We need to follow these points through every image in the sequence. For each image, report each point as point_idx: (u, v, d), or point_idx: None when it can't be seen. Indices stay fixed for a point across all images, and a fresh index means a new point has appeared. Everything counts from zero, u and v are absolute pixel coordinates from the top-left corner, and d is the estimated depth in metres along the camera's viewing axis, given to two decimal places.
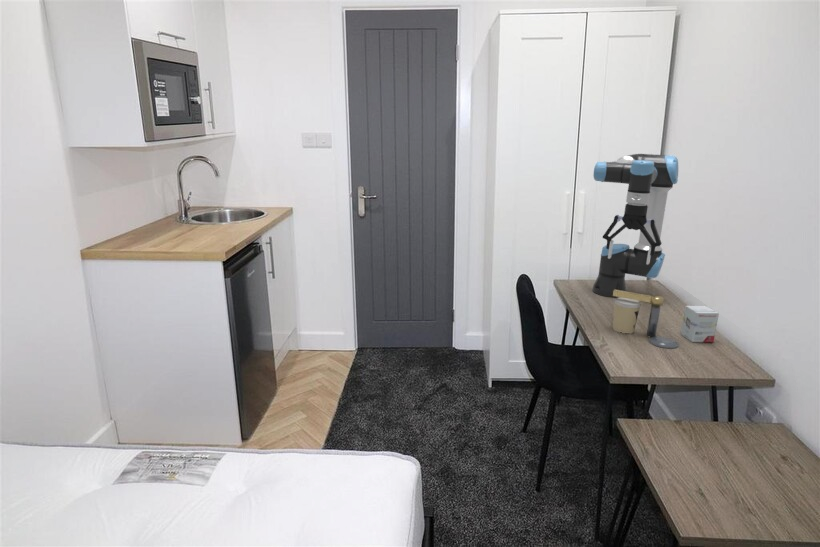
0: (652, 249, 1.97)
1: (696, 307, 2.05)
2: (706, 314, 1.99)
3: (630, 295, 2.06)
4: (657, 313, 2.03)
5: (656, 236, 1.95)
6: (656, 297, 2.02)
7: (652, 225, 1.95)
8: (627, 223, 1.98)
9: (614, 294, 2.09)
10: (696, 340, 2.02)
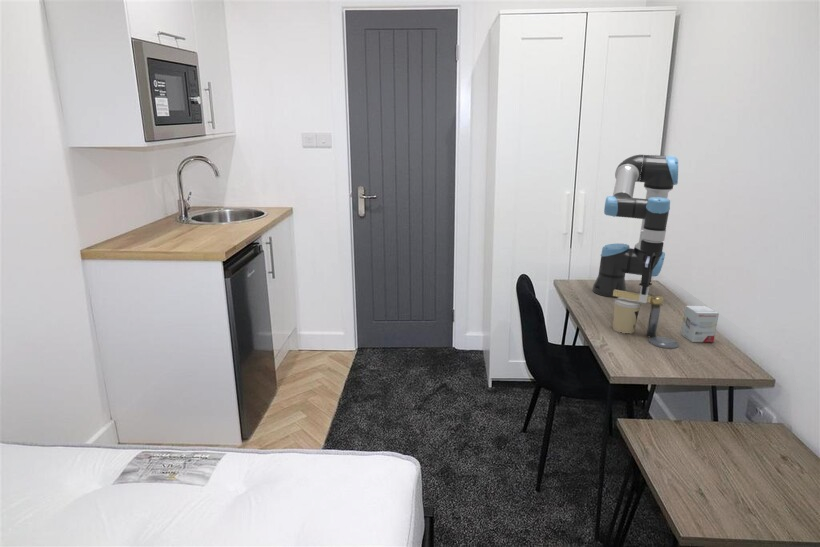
0: (642, 288, 2.02)
1: (696, 307, 2.05)
2: (706, 314, 1.99)
3: (630, 295, 2.06)
4: (657, 313, 2.03)
5: None
6: (656, 297, 2.02)
7: (643, 266, 1.96)
8: None
9: (614, 294, 2.09)
10: (696, 340, 2.02)
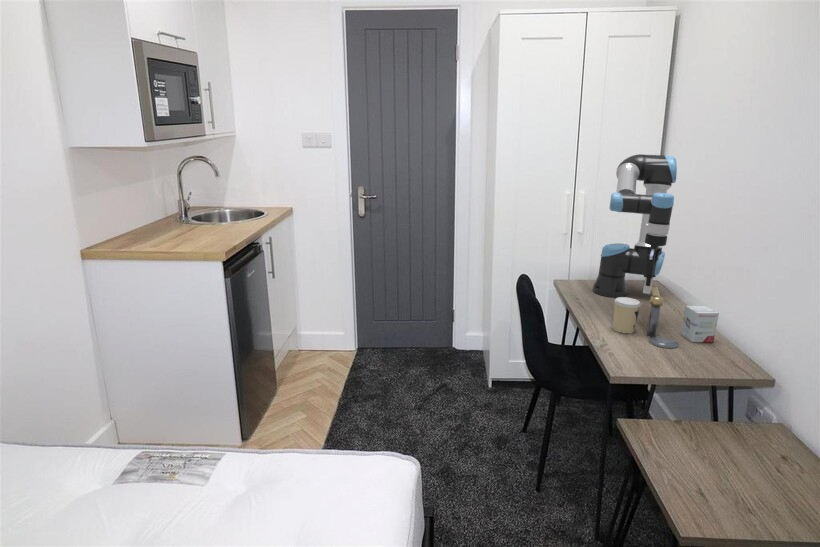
0: (646, 279, 2.12)
1: (696, 307, 2.05)
2: (706, 314, 1.99)
3: (651, 292, 2.12)
4: (657, 313, 2.03)
5: (646, 268, 2.08)
6: (655, 296, 2.03)
7: None
8: None
9: None
10: (696, 340, 2.02)
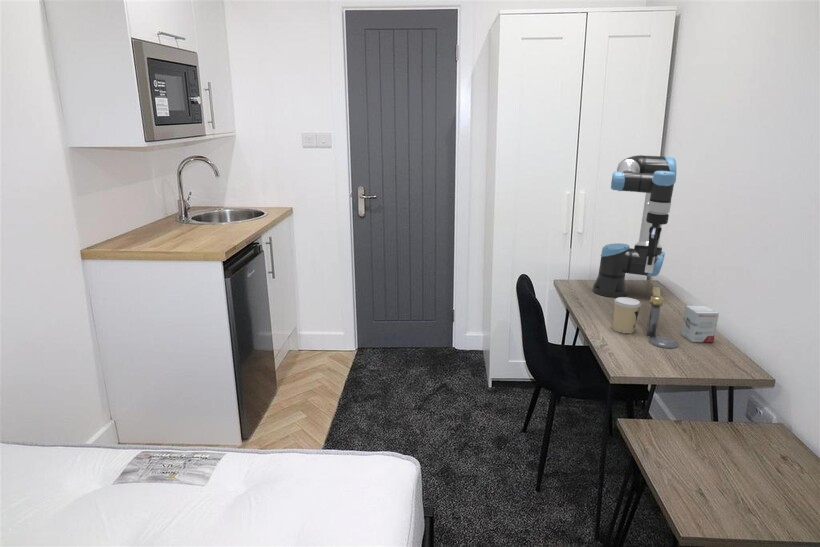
0: (648, 258, 2.10)
1: (696, 307, 2.05)
2: (706, 314, 1.99)
3: (653, 292, 2.11)
4: (657, 313, 2.03)
5: (648, 247, 2.07)
6: (656, 296, 2.03)
7: (649, 237, 2.05)
8: None
9: None
10: (696, 340, 2.02)
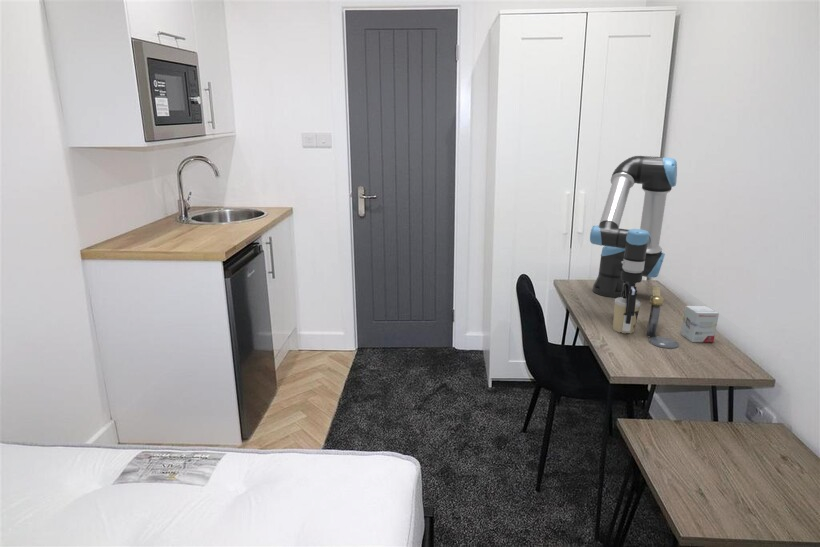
0: (626, 317, 2.05)
1: (696, 307, 2.05)
2: (706, 314, 1.99)
3: (653, 292, 2.11)
4: (657, 313, 2.03)
5: (628, 305, 2.02)
6: (656, 296, 2.03)
7: (629, 294, 2.02)
8: (623, 287, 2.09)
9: None
10: (696, 340, 2.02)
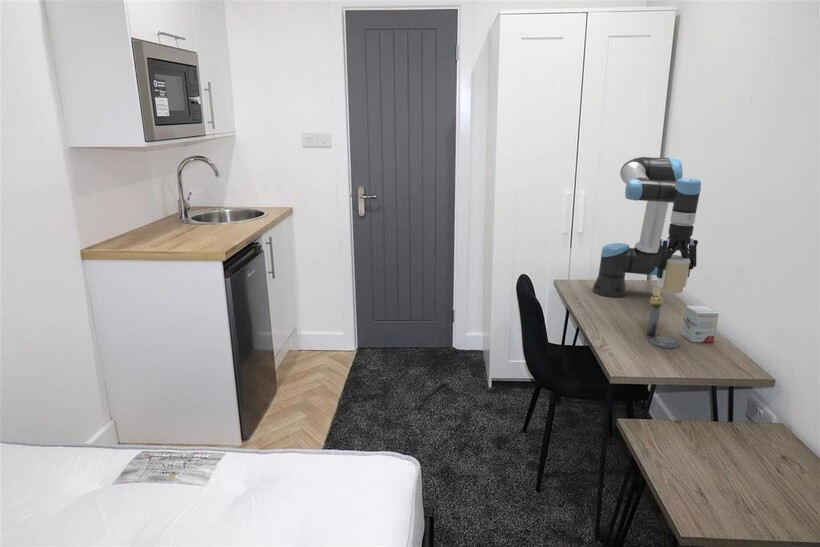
0: (688, 271, 1.94)
1: (696, 307, 2.05)
2: (706, 314, 1.99)
3: (653, 292, 2.11)
4: (657, 313, 2.03)
5: (695, 257, 1.92)
6: (656, 296, 2.03)
7: (695, 246, 1.91)
8: (677, 245, 1.88)
9: None
10: (696, 340, 2.02)
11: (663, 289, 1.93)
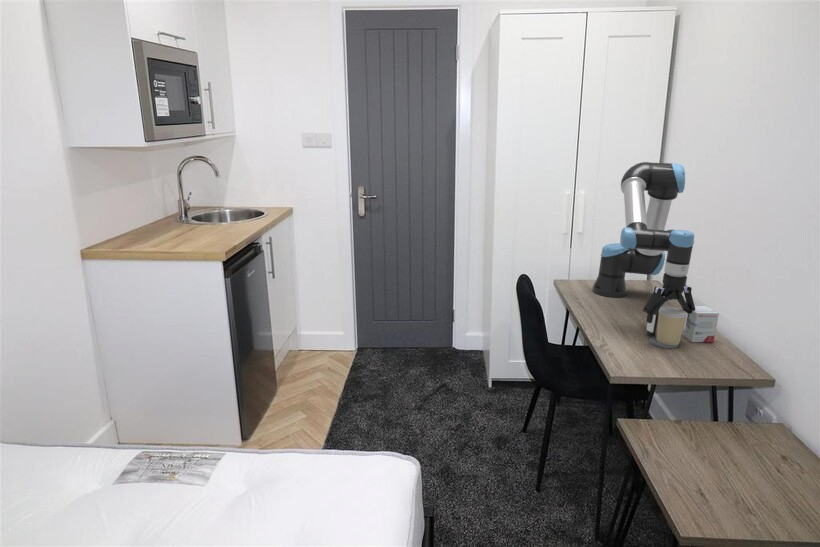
0: None
1: (696, 307, 2.05)
2: (706, 314, 1.99)
3: None
4: (657, 313, 2.03)
5: (692, 302, 1.97)
6: None
7: (689, 292, 1.95)
8: (671, 295, 1.93)
9: None
10: (696, 340, 2.02)
11: (660, 341, 1.99)
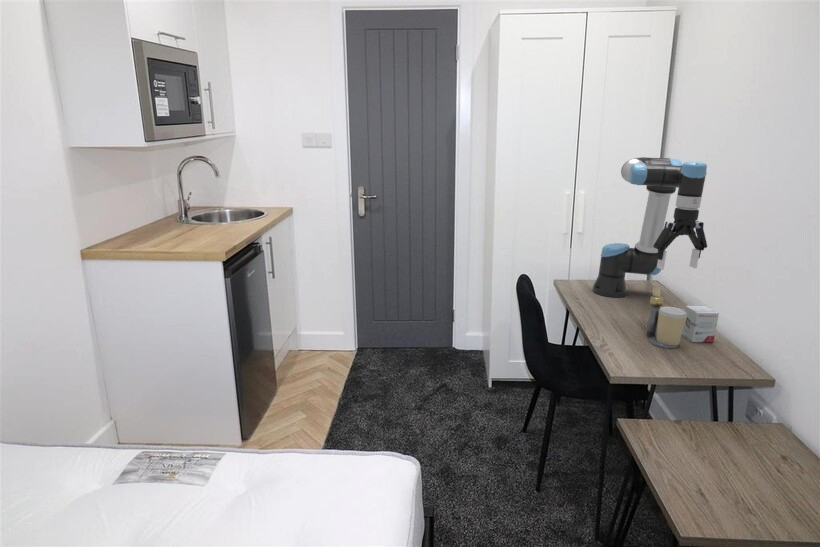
0: None
1: (696, 307, 2.05)
2: (706, 314, 1.99)
3: (653, 292, 2.11)
4: (657, 313, 2.03)
5: (704, 238, 1.90)
6: (656, 296, 2.03)
7: (701, 228, 1.89)
8: (682, 229, 1.86)
9: None
10: (696, 340, 2.02)
11: (660, 341, 1.99)
